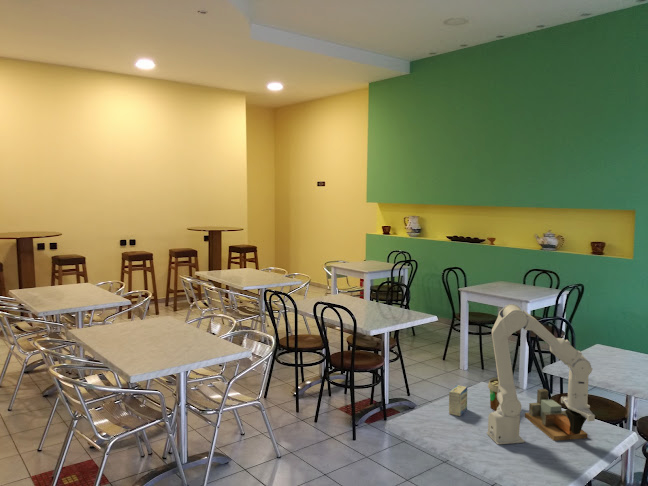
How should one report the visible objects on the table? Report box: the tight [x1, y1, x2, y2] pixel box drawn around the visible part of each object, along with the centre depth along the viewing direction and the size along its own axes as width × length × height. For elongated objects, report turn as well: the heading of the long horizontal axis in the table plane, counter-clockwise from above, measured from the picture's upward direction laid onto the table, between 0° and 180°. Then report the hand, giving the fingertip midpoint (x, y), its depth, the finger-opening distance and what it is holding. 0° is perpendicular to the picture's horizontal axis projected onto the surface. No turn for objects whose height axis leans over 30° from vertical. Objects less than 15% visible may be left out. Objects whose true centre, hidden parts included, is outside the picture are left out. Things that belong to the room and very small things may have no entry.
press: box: [524, 388, 589, 441], centre depth 178 cm, size 12×18×10 cm, turn 8°
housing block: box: [540, 398, 562, 417], centre depth 180 cm, size 4×6×6 cm, turn 8°
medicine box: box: [448, 384, 468, 417], centre depth 191 cm, size 8×4×9 cm, turn 147°
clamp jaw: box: [542, 410, 575, 435], centre depth 173 cm, size 10×10×4 cm
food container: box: [487, 377, 499, 412], centre depth 195 cm, size 12×6×10 cm, turn 145°
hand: (575, 433), depth 167 cm, fingers closed
